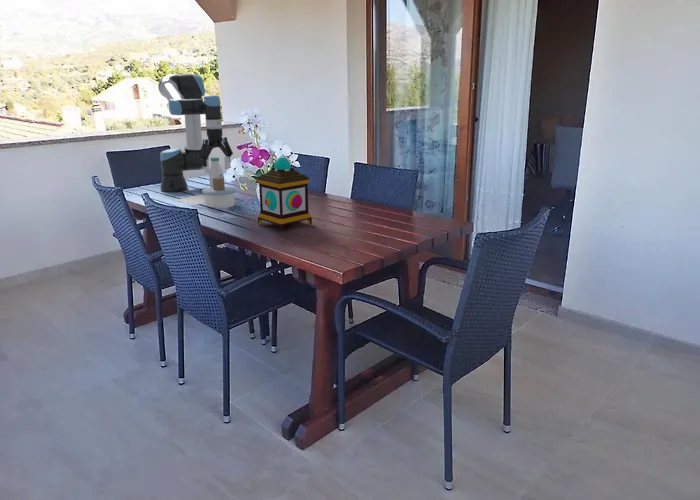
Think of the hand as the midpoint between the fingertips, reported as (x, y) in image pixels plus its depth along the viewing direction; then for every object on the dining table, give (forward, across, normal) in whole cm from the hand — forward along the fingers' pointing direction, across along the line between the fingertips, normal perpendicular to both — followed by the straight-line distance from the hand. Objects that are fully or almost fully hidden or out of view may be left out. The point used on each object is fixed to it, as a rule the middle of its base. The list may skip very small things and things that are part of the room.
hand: (217, 171), depth 254 cm
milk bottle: (+18, +21, +24) cm, 37 cm away
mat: (+18, +1, +17) cm, 25 cm away
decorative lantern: (+17, -10, -53) cm, 56 cm away
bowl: (+18, 0, -1) cm, 18 cm away
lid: (+10, 0, 0) cm, 11 cm away
